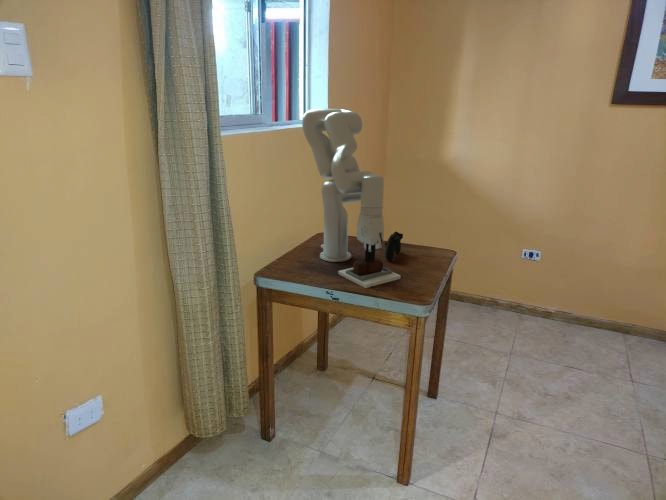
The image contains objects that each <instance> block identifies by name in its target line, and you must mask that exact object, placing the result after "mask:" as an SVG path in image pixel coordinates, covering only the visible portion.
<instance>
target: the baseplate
mask: <svg viewBox="0 0 666 500" xmlns="http://www.w3.org/2000/svg"><path fill="white" fill-rule="evenodd" d="M337 272H338V273H337V274H338V275H339V276H342V277H343V278H345V279H347V280H349V281H351V282H353V283H355V284H357V285H359V287H360V286H361V287H362V288H365V289H368V288H372V287H374V286H379V285H382V284H386V283H388V282H389V283H390V282H393V281H397V280H400V279H401V275H400V274H398V273H396V272H394V271H393V270H392V269H390V268H388V267H385V266H383V268H382V271H381V272H377V273H373V274H368V275H364V276H358V275H356V274H354V273H353V267H349V268H345V269H341V270H338V271H337ZM371 286H372V287H371Z"/></svg>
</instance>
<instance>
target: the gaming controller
mask: <svg viewBox="0 0 666 500" xmlns="http://www.w3.org/2000/svg"><path fill="white" fill-rule="evenodd" d="M403 238H404V234H403V233H400V232H398V231H394V232H393V233H392V234H390V235H389V237H388V239H387V242H385V243H384V246H385V253H384V255H385V256H384V257H385V259H386V261H388V262H392V261H393V260H394V257H395V253H396V254H398V253H400V252H401V248H402V243H401V240H402V239H403Z"/></svg>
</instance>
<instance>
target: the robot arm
mask: <svg viewBox="0 0 666 500" xmlns="http://www.w3.org/2000/svg"><path fill="white" fill-rule="evenodd" d="M301 123H302V125H301V126H302V131H303V132H302V133H303V134H304V137H305V140H306V141H307V144H308V145H309V147H310V148H311V152H312V154H313V157H314V161H315V164H316V167H317V170H318V173H319V175H320V176H321V177H322V178H323V179H328V180H326V181H325V182H324V183H323V184H322V185H321V191H320V192H321V198H322V203H323V204H322V207H323V243H322V244H320V248H322V252H320V253H319V258H320V259H321V260H323V261H326V262H331V263H339V262H340V263H342V262H347V261H348V260H350V259H351V258H352V254H351V253H350V252H349V251H348V243H349V242H348V241H349V240H348V239H349V234H348V232H349V229H348V228H349V215H348V211H347V209H346V208H345V207H344V205H343V204H348V203H355V202H360V212H359V215H358V217H357V218H358V219H357V225H356V240H357V241H359V242H360V243H361V244H362V245H363V250H364V260H365V261H367V262H372V261H374V260H375V258H376V251H377V250H379V249H382V244H383V243H384V237H385V229H384V228H385V224H384V217H383V208H384V207H383V206H384V205H383V204H384V186H385V185H384V183H385V182H384V177H383V176H382V175H381V174H375V173H373V172H372V171H368V170H364V171H363V170H362V171H361V170H360V167H359V163H358V161H357V159H356V158H355V157H354V153H356V151H357V149H358V143H357V141H356V139H355V135H358V134H360V133H361V131H362V129H363V120H362V118H361V116H360V114H358V113H357V112H355V111H353V110H348V109H343V108H312V109H309V110H307V111H306V112H304V114H303V116H302V122H301ZM323 132H326V133H327V135H328V136H327V135H326V134H324V133H323Z"/></svg>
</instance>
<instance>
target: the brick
mask: <svg viewBox="0 0 666 500" xmlns="http://www.w3.org/2000/svg"><path fill="white" fill-rule="evenodd" d="M383 267H384V262H383V261H382V260H381V259H379V258H376V257H375V260H374V261H372V262H367V261H365V259H362V260H356V261H354V262H353V267H352V268H353V273H354V274H356V275H358V276H364V275H368V274H373V273H377V272H381V271H382V268H383Z"/></svg>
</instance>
